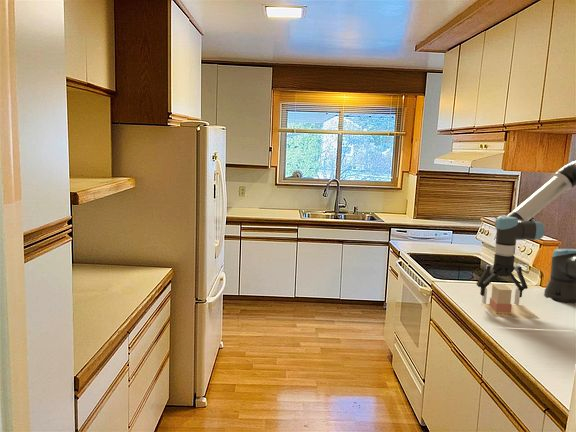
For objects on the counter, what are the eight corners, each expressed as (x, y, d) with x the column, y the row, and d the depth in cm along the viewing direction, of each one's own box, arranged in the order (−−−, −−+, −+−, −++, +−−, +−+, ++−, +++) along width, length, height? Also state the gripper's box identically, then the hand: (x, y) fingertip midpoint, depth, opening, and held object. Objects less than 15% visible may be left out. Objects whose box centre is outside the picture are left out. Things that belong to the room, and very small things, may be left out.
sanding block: (503, 307, 204) (505, 284, 203) (511, 314, 196) (513, 290, 195) (488, 306, 205) (490, 284, 203) (495, 313, 197) (497, 289, 195)
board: (523, 306, 208) (523, 305, 207) (539, 319, 192) (540, 318, 192) (481, 304, 209) (481, 303, 209) (493, 317, 193) (494, 316, 193)
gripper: (531, 253, 200) (526, 302, 203) (471, 251, 201) (467, 299, 205) (539, 257, 192) (534, 308, 195) (476, 255, 194) (472, 305, 197)
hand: (500, 303), depth 200 cm, fingers open, 13 cm apart
